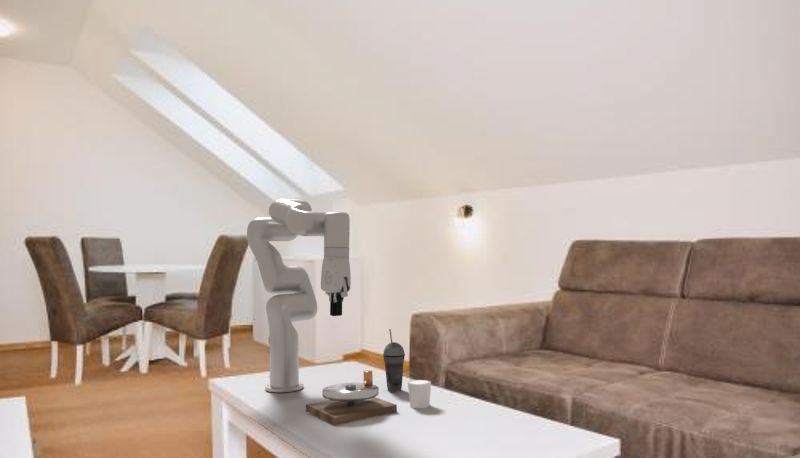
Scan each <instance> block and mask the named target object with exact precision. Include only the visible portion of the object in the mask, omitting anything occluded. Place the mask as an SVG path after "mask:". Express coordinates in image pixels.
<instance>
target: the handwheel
mask: <svg viewBox="0 0 800 458" xmlns="http://www.w3.org/2000/svg"><path fill="white" fill-rule="evenodd" d="M373 378H374V377H373V370H364V371H363V382H342V383H335V384H331V385H327V386H325V387H323V388H322V391H321V392H322V393H321V394H322V397H323V398H324V399H326V400H333V401H360V400H366V399H370V398H373V397H376V398H377V396H378V395H379V393H380V392H379V391H380V390H379V389H380V388H379V386H377V385H375V384H373V382H374V381H373Z"/></svg>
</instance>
